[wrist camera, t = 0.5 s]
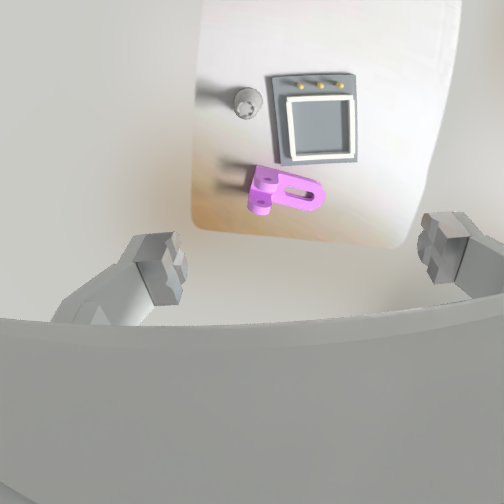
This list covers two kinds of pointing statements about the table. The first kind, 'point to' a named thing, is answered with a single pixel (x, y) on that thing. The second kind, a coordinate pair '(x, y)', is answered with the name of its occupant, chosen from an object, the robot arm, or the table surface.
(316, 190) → the bracket
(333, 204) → the table surface
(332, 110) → the board
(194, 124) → the table surface
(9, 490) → the robot arm
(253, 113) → the rook chess piece
